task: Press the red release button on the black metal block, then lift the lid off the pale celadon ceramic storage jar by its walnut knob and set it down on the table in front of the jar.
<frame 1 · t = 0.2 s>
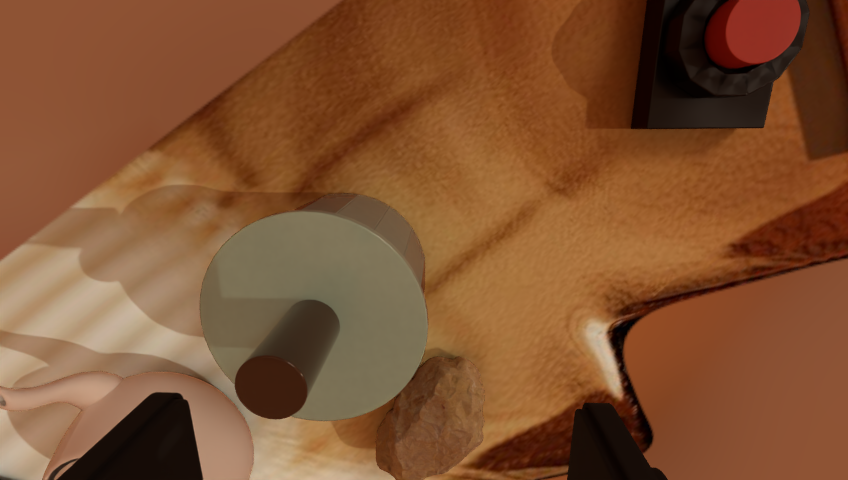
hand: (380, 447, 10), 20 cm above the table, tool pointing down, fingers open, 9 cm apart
button: (750, 29, 21), point 4 cm above the table, slide at 0.1 cm
teapot: (185, 415, 35), on the table
stone tool: (429, 403, 33), on the table
lid: (316, 319, 22), point 8 cm above the table, touching jar
jar: (350, 267, 30), on the table
button block: (697, 46, 25), on the table
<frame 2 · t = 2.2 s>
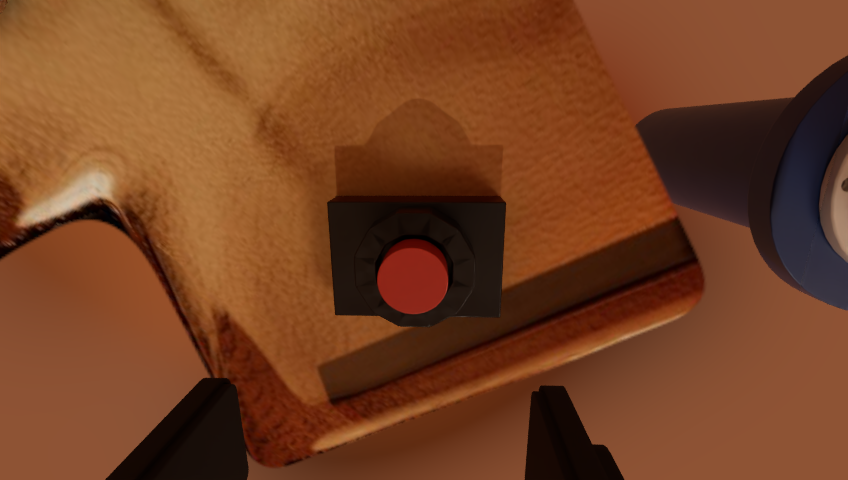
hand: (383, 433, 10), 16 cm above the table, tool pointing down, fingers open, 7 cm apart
button: (413, 275, 21), point 4 cm above the table, slide at 0.1 cm
button block: (418, 250, 25), on the table
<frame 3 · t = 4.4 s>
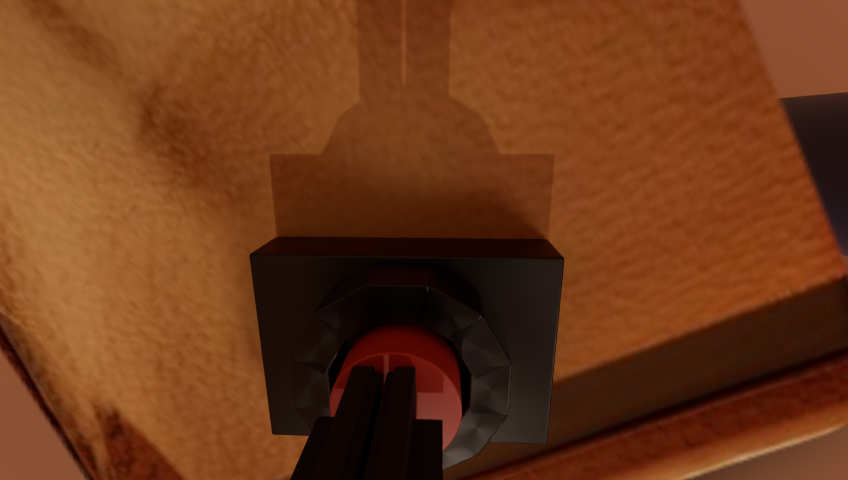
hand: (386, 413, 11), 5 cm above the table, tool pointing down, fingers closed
button: (398, 391, 12), point 4 cm above the table, slide at -0.2 cm, touching gripper
button block: (410, 323, 16), on the table
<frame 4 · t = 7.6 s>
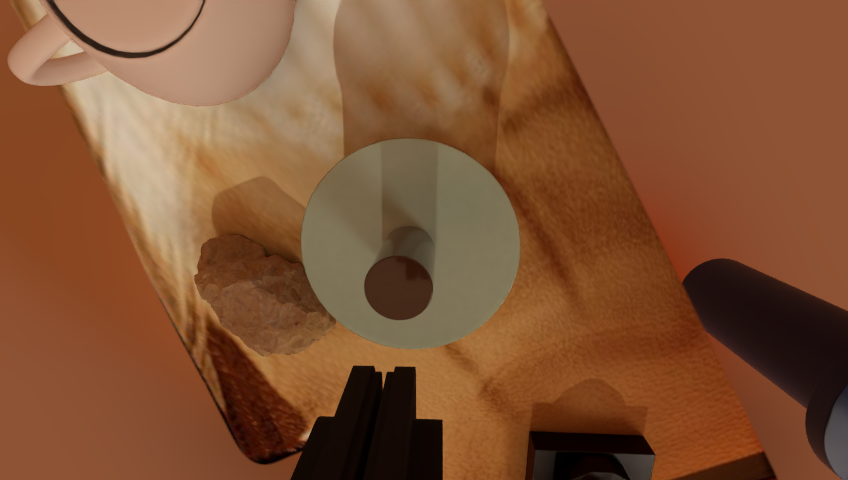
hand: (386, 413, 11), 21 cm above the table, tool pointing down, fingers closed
stone tool: (276, 284, 34), on the table
lid: (410, 248, 23), point 8 cm above the table, touching jar
button block: (581, 464, 37), on the table
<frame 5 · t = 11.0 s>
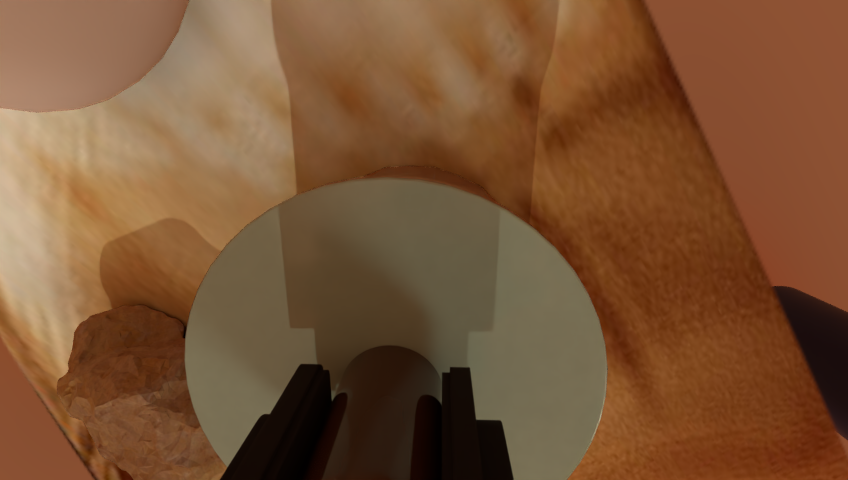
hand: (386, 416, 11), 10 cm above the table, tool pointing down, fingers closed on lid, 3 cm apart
stone tool: (204, 372, 23), on the table
lid: (394, 377, 12), point 9 cm above the table, touching gripper, jar
jar: (413, 278, 20), on the table
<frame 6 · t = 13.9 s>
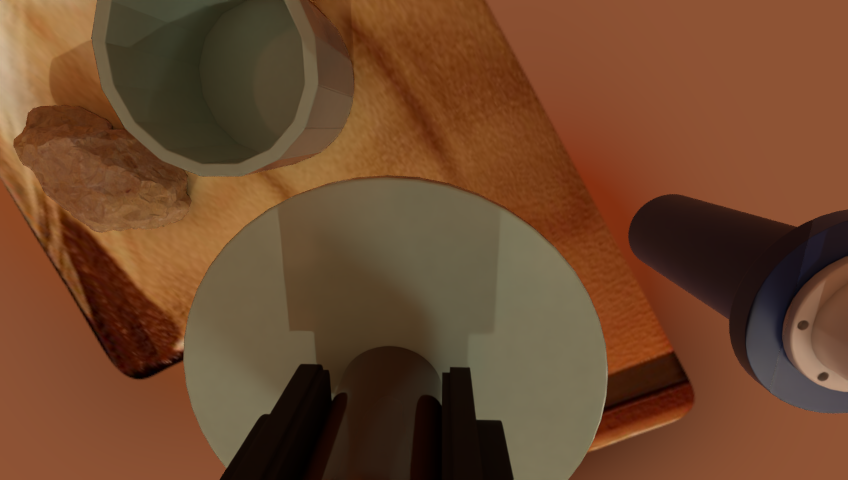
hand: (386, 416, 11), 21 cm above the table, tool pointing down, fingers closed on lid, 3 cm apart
stone tool: (129, 167, 31), on the table
lid: (393, 378, 12), point 19 cm above the table, touching gripper
jar: (274, 81, 28), on the table
when the fingers open (2 cm above the table, at t = 16.8 s): lid stays where it is, point 1 cm above the table.
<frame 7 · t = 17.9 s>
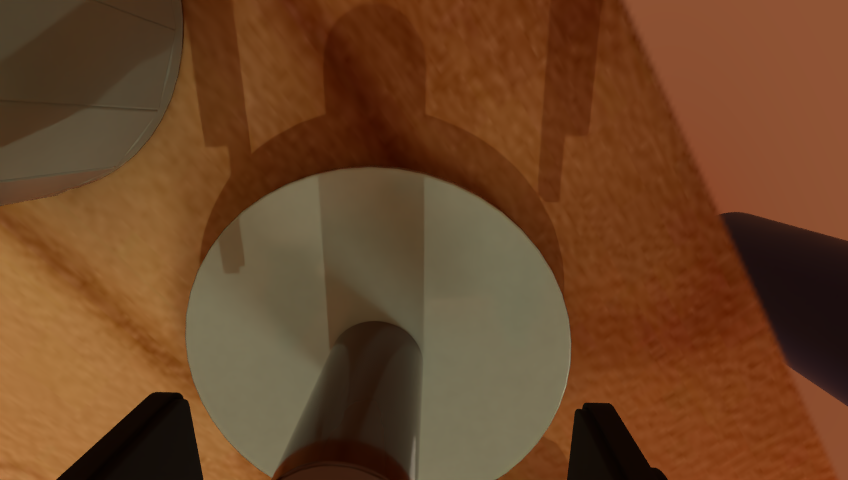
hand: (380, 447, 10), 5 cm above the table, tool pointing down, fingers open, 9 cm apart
lid: (379, 352, 13), point 1 cm above the table
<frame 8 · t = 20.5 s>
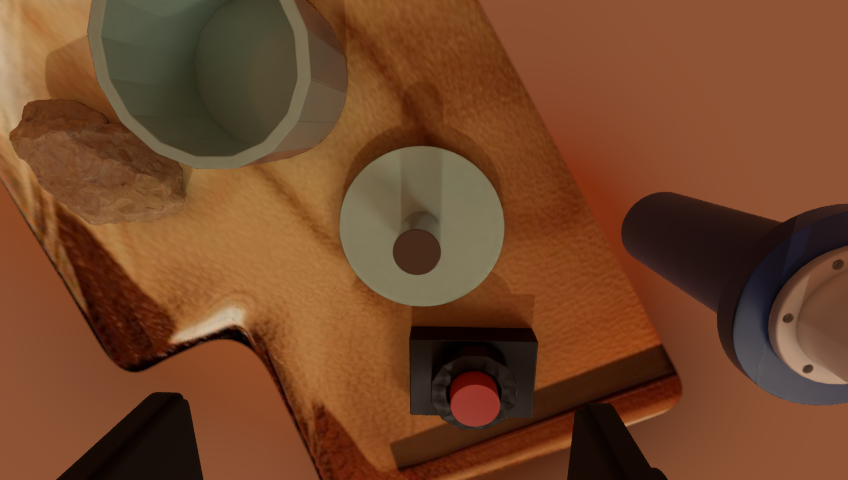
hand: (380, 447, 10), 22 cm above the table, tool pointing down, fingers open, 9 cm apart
button: (474, 398, 30), point 4 cm above the table, slide at 0.1 cm
stone tool: (125, 161, 31), on the table
lid: (421, 228, 30), point 1 cm above the table
jar: (268, 76, 29), on the table
button block: (470, 364, 34), on the table
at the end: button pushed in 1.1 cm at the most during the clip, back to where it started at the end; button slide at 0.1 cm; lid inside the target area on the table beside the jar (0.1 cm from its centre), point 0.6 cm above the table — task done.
